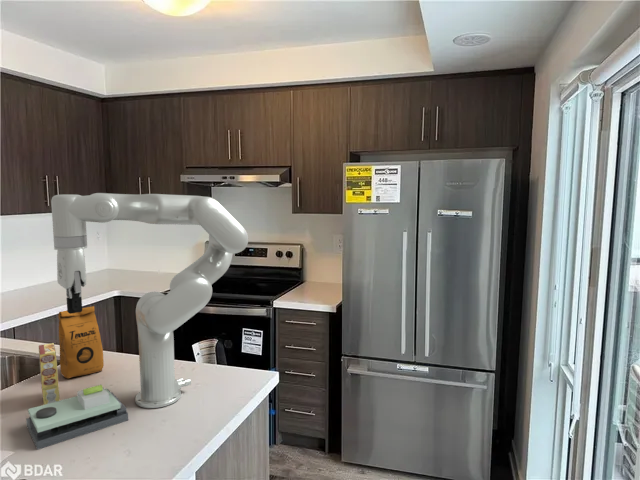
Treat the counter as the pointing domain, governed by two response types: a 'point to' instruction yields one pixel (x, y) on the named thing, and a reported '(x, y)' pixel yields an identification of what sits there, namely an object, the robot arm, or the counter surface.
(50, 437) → the base
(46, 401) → the candy box
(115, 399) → the levelling plate
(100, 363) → the coffee package
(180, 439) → the counter surface
